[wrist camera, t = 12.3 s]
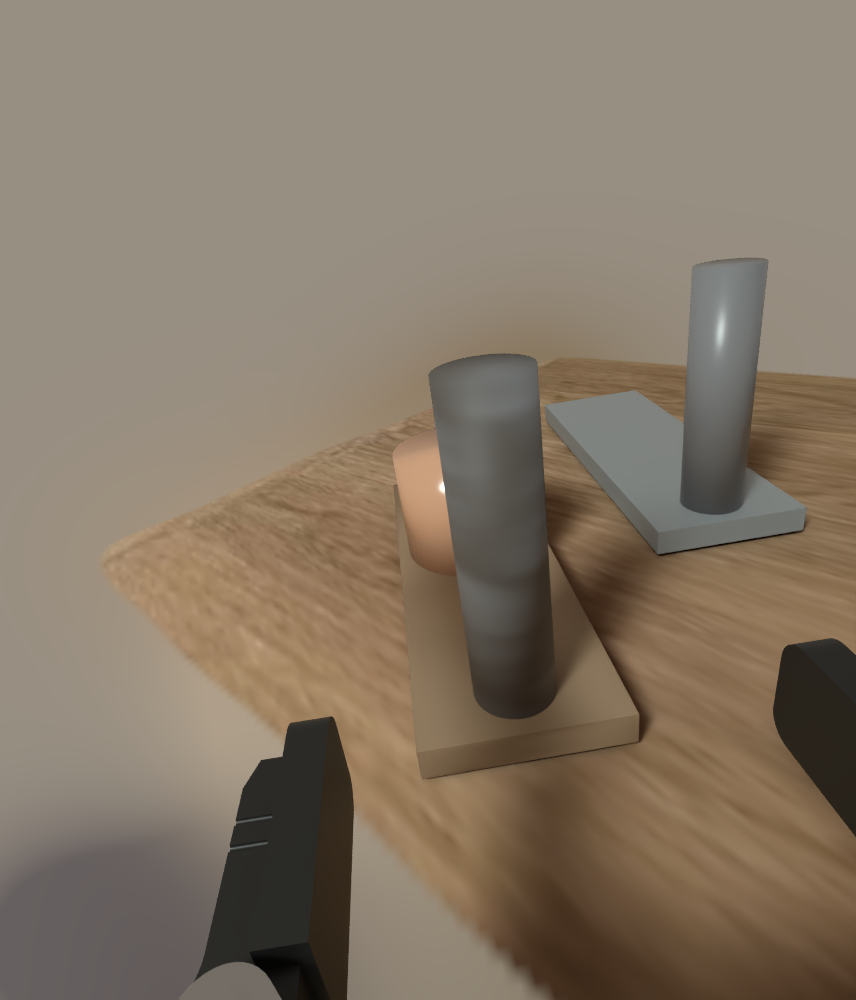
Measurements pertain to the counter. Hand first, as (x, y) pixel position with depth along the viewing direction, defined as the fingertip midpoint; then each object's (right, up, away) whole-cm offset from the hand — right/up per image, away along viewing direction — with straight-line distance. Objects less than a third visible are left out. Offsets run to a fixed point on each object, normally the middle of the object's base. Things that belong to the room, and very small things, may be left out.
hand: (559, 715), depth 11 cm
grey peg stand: (+11, +6, +26) cm, 29 cm away
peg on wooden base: (0, 0, +17) cm, 17 cm away
